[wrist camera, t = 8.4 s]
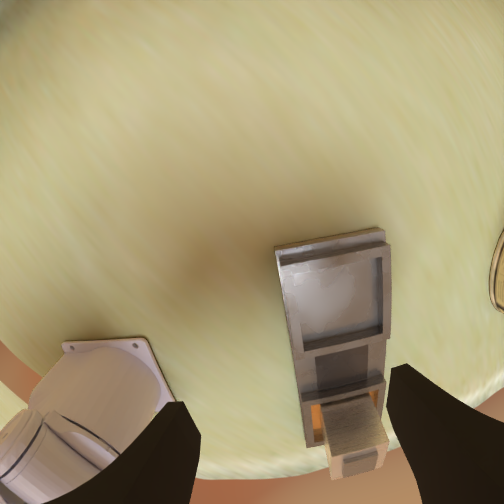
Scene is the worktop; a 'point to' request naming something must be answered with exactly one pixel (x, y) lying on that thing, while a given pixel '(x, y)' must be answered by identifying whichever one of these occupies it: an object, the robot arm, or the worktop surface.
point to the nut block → (353, 436)
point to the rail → (337, 319)
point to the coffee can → (498, 276)
